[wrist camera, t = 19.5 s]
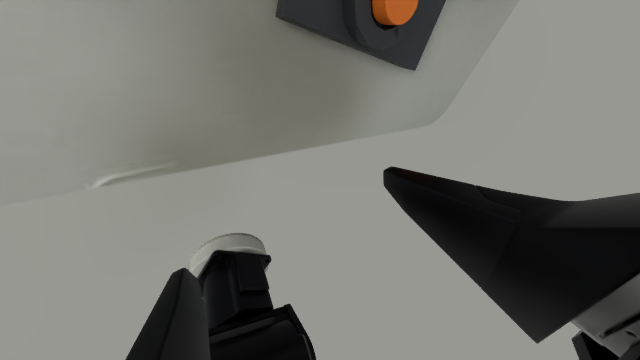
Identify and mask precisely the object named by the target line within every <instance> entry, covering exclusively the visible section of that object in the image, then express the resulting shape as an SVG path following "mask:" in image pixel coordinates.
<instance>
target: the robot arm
mask: <svg viewBox="0 0 640 360" xmlns="http://www.w3.org/2000/svg"><path fill="white" fill-rule="evenodd" d="M383 178H384V186H385V188H386V189H387V190H388V192H389V193H390V194H391V195H392V197H393V198H394V199H395V200H396V202H397V203H398V204H399V205H400V207H401V208H402V209H403V210H404V211H405V212H406V213H407V214H408V215H409V216H410V217H411V218H412V219H413V220H414V221H415V222H416V223H417V224H418V225H419V226H420V227H421V228H422V229H423V230H424V231H425V232H426V233H427V234H428V235H429V236H430V237H431V238H432V239H433V240H434V241H435V242H436V243H437V244H438V245H439V246H440V247H441V248H442V249H443V250H444V251H445V252H446V253H447V254H448V255H449V256H450V257H451V258H452V259H453V260H454V261H455V262H456V263H457V264H458V265H459V266H460V267H461V268H462V269H463V270H464V271H465V272H466V273H467V274H468V275H469V276H470V277H471V278H472V279H473V280H474V281H475V282H476V283H477V284H478V285H479V286H480V287H481V288H482V290H483V291H484V292H485V293H486V294H487V295H488V296H489V297H490V298H491V299H492V300H493V301H494V302H495V303H496V304H497V305H498V306H499V307H500V308H502V310H503V311H504V312H505V313H506V314H507V315H508V316H509V317H510V318H511V319H512V320H513V321H514V322H515V323H517V325H518V326H519V327H520V328H521V329H522V330H523V331H524V332H525V333H526V334H527V335H528V336H529V337H531V338H532V340H534V341H535V342H536V343H539V342H541V341H542V340H544V339H545V338H547V337H548V336H549V335H551V334H552V333H554V332H555V331H557V330H558V329H560V328H561V327H562V326H564V325H565V324H567V323H568V322H572V323H573V324H574V325H576V326H577V327H578V328H579V329H581V331H579V332H578V333H577V334H576V335H575V336H574V337H573V338H572V342H573V344H574V347H575V349H576V352H577V355H578V357H579V360H640V193H635V194H628V195H621V196H614V197H607V198H599V199H592V200H586V201H560V200H552V199H547V198H541V197H534V196H529V195H523V194H517V193H511V192H505V191H500V190H495V189H490V188H486V187H481V186H477V185H476V186H475V185H472V184H468V183H463V182H459V181H455V180H450V179H445V178H441V177H436V176H432V175H428V174H424V173H419V172H414V171H410V170H406V169H401V168H397V167H389V168H387V169H385V170H384V173H383ZM270 262H271V257H270V255H263V254H254V253H245V252H235V251H226V250H215V251H214V252H213V253H212V254H211V256H210V257H209V259H208V261H207V262H206V264H205V265H204V267H203V269H202V270H201V272H200V273H199V275H198V277H197V278H196V277H195V276H194V275H193V274H192V273H191V272H190V271H189V270H188V269H186V268H182V269H180V270H177V271H176V272H174V273H173V274H172V275H171V276H170V278H169V280H168V282H167V284H166V286H165V287H164V289H163V291H162V293H161V295H160V297H159V298H158V300H157V302H156V304H155V306H154V308H153V310H152V312H151V313H150V315H149V317H148V319H147V321H146V323H145V325H144V326H143V328H142V330H141V332H140V334H139V336H138V337H137V339H136V341H135V343H134V345H133V347H132V348H131V350H130V352H129V354H128V356H127V358H126V360H316V356H315V352H314V349H313V346H312V343H311V341H310V339H309V337H308V335H307V333H306V331H305V329H304V328H303V326H302V324H301V322H300V321H299V319H298V317H297V315H296V314H295V312H294V310H293V308H292V306H291V305H290V304H287V305H284V306H283V307H280V308H277V309H273V305H272V301H271V298H270V294H269V291H268V290H269V285H268V281H267V278H266V275H265V271H264V270H265V269H266V267H267V266H268V264H269V263H270ZM202 298H203V299H202Z"/></svg>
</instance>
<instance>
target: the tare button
mask: <svg viewBox="0 0 640 360" xmlns="http://www.w3.org/2000/svg"><path fill="white" fill-rule="evenodd" d="M418 1H419V0H372V11H373V15H374V17H375V19H376V20H377V21H378V22H379V23H380V24H383V25H402V24H404V23H406V22H407V21H408V20H409V19H410V18H411V17H412V15H413V14H414V12H415V10H416V8H417V5H418Z"/></svg>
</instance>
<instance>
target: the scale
mask: <svg viewBox="0 0 640 360" xmlns="http://www.w3.org/2000/svg"><path fill="white" fill-rule="evenodd" d="M445 1H446V0H419V1H418V5H417V8H416V10H415V12H414V14H413V15H412V17H411V18H410V19H409V20H408V21H407V22H406V23H404V24H402V25H383V24H380V23H379V22H378V21H377V20H376V19H375V17H374V15H373V11H372V0H278V5H277V11H276V17H278V18H280V19H283V20H285V21H288V22H290V23H293V24H295V25H298V26H300V27H303V28H305V29H308V30H310V31H313V32H315V33H318V34H320V35H323V36H325V37H328V38H330V39H333V40H335V41H338V42H340V43H343V44H345V45H348V46H350V47H353V48H355V49H358V50H360V51H363V52H365V53H368V54H370V55H373V56H375V57H378V58H380V59H383V60H385V61H388V62H390V63H393V64H395V65H398V66H400V67H403V68H406V69H410V70H415V69H416V67H417V65H418V62H419V60H420V58H421V56H422V53H423V51H424V49H425V47H426V44H427V42H428V40H429V37H430V35H431V33H432V31H433V28H434V26H435V24H436V22H437V19H438V17H439V15H440V13H441V10H442V8H443V6H444V3H445Z"/></svg>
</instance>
